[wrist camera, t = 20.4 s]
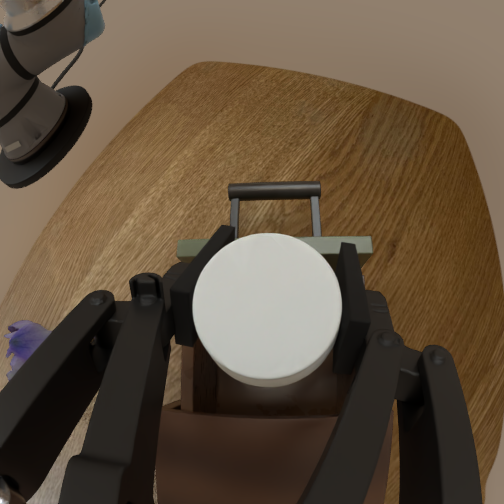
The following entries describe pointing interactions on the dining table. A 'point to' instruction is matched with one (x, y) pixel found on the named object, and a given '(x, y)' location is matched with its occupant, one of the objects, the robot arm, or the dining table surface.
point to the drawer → (253, 397)
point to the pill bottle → (267, 309)
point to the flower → (24, 342)
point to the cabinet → (246, 457)
